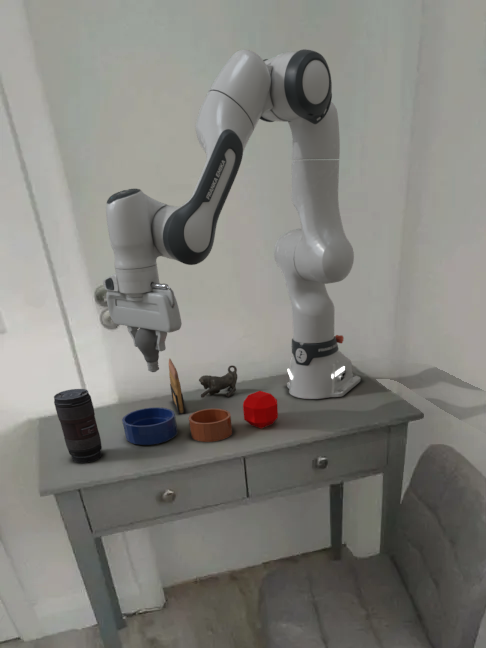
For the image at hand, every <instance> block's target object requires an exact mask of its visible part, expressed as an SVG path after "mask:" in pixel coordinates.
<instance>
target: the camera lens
mask: <svg viewBox="0 0 486 648" xmlns="http://www.w3.org/2000/svg"><path fill="white" fill-rule="evenodd" d="M53 399H54V400H53V404H54V407H55V411H56V415H57V418H58V421H59V423H60V426H61V430H62V433H63V439H64V442H65V446H66V448H67V451H68V454H69V455H70V456H71V458H72V459H71V460H72V461H73V462H75V463H77V464H86V463H92V462H95V461H97V460H99V459H100V458H101V457H102V449H103V446H102V439H101V435H100V431H99V428H98V424H97V419H96V413H95V408H94V404H93V401H92V396H91V394H90V393H89V390H88V389H85V388H71V389H67V390H63V391H60V392H57V393H56V394H55V395H54V396H53Z"/></svg>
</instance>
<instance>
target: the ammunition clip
mask: <svg viewBox="0 0 486 648" xmlns="http://www.w3.org/2000/svg"><path fill="white" fill-rule="evenodd" d="M168 372H169V373H168V375H169V376H168V377H169V382H170V383H169V385H170V392H171V393H170V394H171V399H172V400H171V401H172V403H173V406H174V408H175V410H176V412H177V414H178V415H182V414H186V408H185V401H184V395H183V392H182V387H181V382H180V378H179V374H178V370H177V368H176V366H175V364H174V362H173V360H172V359H171V358H170V357H169V358H168Z"/></svg>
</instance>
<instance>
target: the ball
mask: <svg viewBox="0 0 486 648" xmlns="http://www.w3.org/2000/svg"><path fill="white" fill-rule="evenodd" d="M242 403H243V404H242V410H243V421H245V422H246V423H248V424H249V425H250V426H252V427H255V428H258V429H261V430H262V429H264V428H266V427H269V426H272V425H273V424H274V422H276V420H277V419H278V418H279V410H278V399H277V398H276V397H275V396H274V395H272V394H271V392H270V393H269V392H267V391H262V390H258V391H256V392H252V393H249V394H247V396H246V398H244V400H243V402H242Z"/></svg>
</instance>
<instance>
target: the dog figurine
mask: <svg viewBox="0 0 486 648" xmlns="http://www.w3.org/2000/svg"><path fill="white" fill-rule="evenodd" d="M231 368H233V371H232V370H231ZM198 382H199V384H200V385H201V386H203V389H204V390H205V391H203V393H201V394H200V398H202V399H203V398H205V397H206V396H207V395H208V396H213V395H217V394H220V392H221V391H222V390H226V391H228V392H226V394H225V396H226V397H230V396H232V395H233V394H235V392H237V386H236V384H237V382H238V369H237V366H235V365H229V366H228V367H227V373H225V374H224V375H222V376H217V375H207V374H206V375H201V377H200V378H199V379H198Z"/></svg>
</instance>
